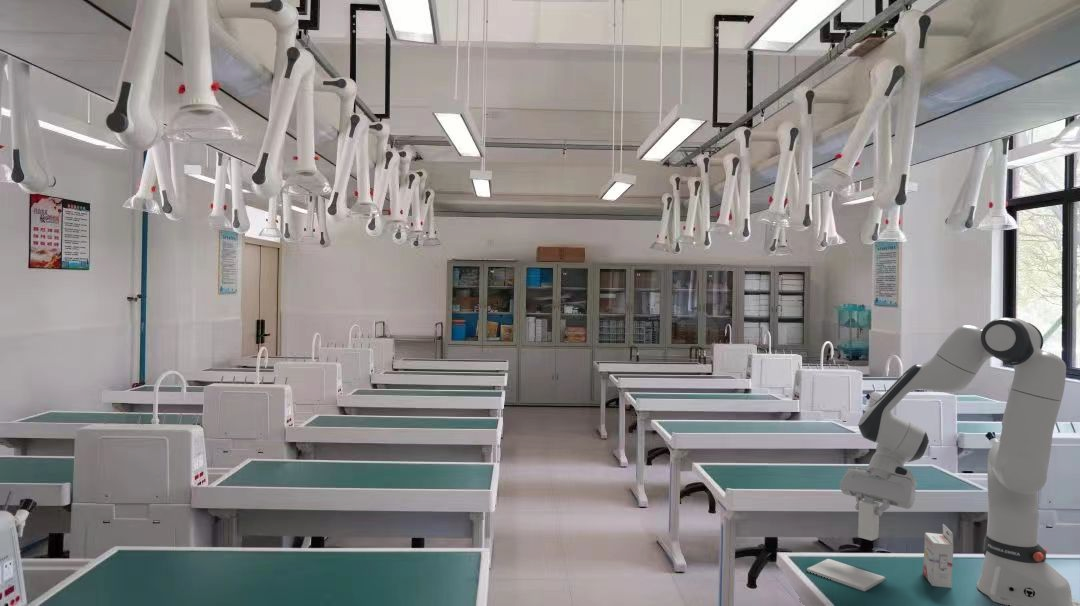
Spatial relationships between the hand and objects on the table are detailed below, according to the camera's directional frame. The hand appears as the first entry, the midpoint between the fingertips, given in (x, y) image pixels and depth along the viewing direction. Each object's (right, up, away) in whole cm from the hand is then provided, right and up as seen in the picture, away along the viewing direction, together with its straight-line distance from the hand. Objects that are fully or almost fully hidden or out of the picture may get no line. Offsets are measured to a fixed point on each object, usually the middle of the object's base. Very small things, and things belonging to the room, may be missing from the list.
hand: (867, 511), depth 207 cm
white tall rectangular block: (0, -7, +1) cm, 7 cm away
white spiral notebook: (-10, -15, -9) cm, 20 cm away
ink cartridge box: (+14, -16, -10) cm, 24 cm away
